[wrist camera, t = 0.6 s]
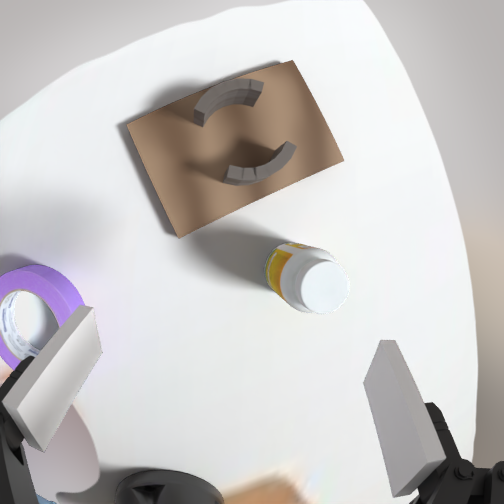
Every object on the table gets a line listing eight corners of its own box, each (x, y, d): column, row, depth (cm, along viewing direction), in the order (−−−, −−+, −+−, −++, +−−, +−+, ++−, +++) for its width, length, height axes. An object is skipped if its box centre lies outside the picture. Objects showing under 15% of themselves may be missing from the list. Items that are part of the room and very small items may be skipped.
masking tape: (58, 386, 29) (47, 402, 25) (-12, 317, 27) (-29, 326, 23) (110, 317, 30) (101, 329, 26) (32, 241, 27) (15, 243, 24)
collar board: (179, 237, 30) (176, 241, 25) (129, 128, 28) (117, 111, 23) (338, 162, 32) (363, 153, 27) (288, 66, 30) (305, 42, 25)
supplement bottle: (301, 233, 32) (343, 238, 23) (321, 279, 33) (367, 300, 24) (253, 257, 32) (279, 272, 22) (276, 304, 32) (309, 335, 23)
